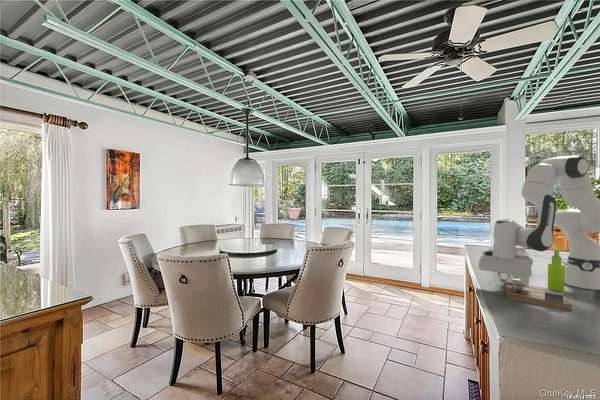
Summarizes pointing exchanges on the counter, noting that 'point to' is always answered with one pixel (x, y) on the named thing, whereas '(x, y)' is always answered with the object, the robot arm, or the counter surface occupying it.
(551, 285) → the soap dispenser
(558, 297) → the wooden tray
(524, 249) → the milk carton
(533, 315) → the counter surface
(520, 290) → the folding leg
